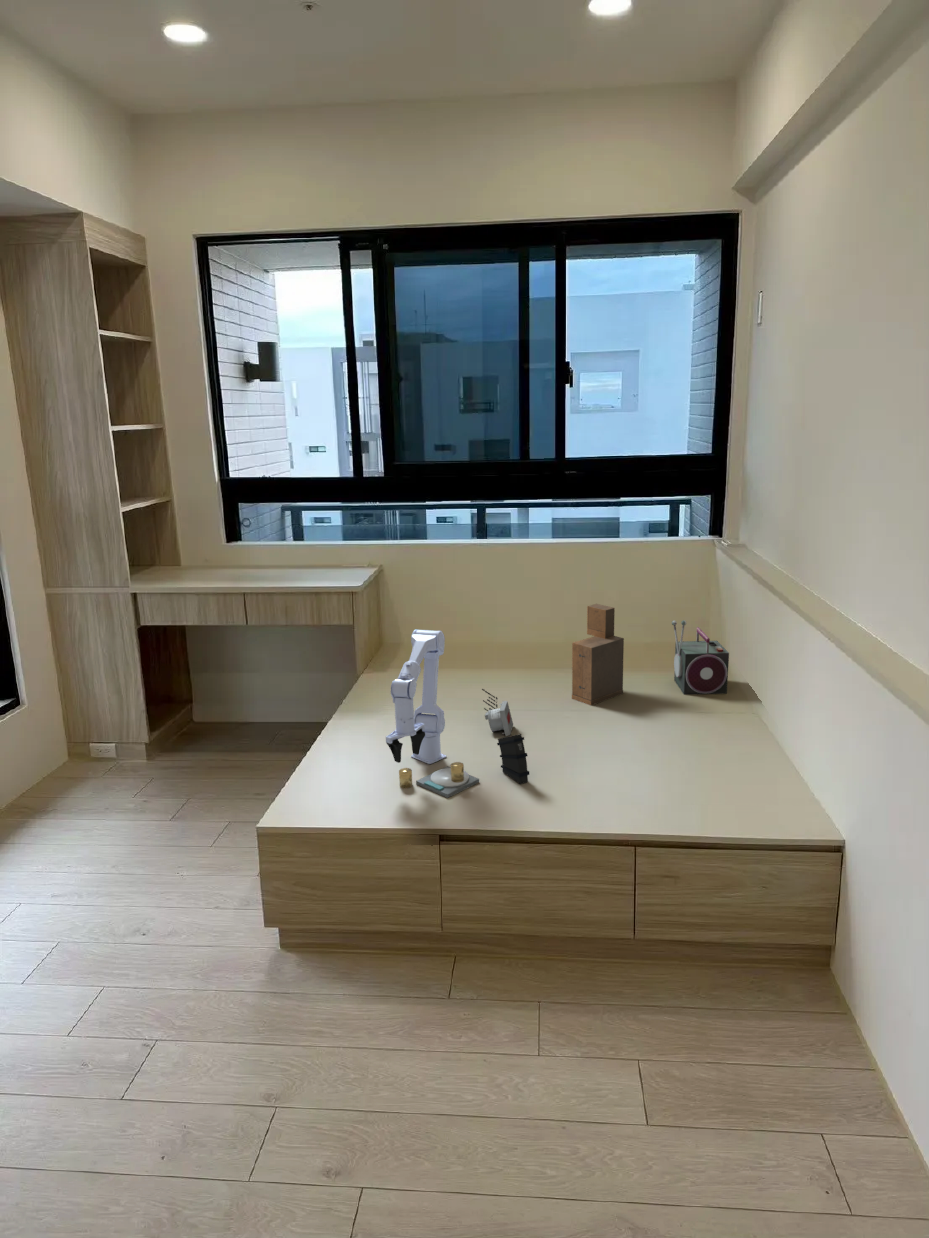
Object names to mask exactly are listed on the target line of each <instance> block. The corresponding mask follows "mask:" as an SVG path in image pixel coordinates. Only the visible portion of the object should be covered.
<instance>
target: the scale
mask: <svg viewBox="0 0 929 1238" xmlns="http://www.w3.org/2000/svg"><path fill="white" fill-rule="evenodd" d="M478 783H480V778H478V777H476V776H473V775H471V774H469V773H468V772H467V771H466V770H464V781H462V782H453V781H451V766H449V765H447V766H444V767H443V768H441V769H438V770H436V771H433V772H432V773H430V774H427V775H426V776H424V777H421V778H419V779H417V780H415V784H416V785H417V786H419V787H422V788H424V789H426V790H428V791H430V792H433V793H436V794H438V795H439V796H442V797H445V798H446V799H448V798H450V797H453V796H454V795H456V794H459V793H460V792H463V791H464V790H466V789H468V788H471V787H472V786H474V785H477V784H478Z"/></svg>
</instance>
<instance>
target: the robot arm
mask: <svg viewBox="0 0 929 1238" xmlns="http://www.w3.org/2000/svg"><path fill="white" fill-rule="evenodd" d="M410 636H411V637H410V641H411V647H412V649H411V654H410V655H409V658H408V661H405V662H404V663H403V665H402V668H401V670H400V672H399V675H398V676H397V678H396V679H394V680H392V682H391V685H390V695H391V699H392V703H393V704H394V716H395V730H393V731H392V732H391V733H390V734H388V735H386V736H385V743H386V745H387V746H388V747H389V750H390V752H391V753H392V756H393V759H394V762H396V763H398V764H399V763H401V762H402V750H403V749H402V747H403V743H402V742H400V741H399V740H400V739H403V738H405V737H410V741H411V750H412V754H411V755H410V756H411V758H413V759H416V760H419V761H420V762H422V763H425V764H428V765H432V764H434V763H436V762H438V761H440V760H443V759H445V758H447V755H446V754H443V753H442V749H441V734H442V733H443V732H444V730H445V727H446V719H445V711H444V710H443V709H442V708H441V707H440V706H439V705H438V704H437V698H438V696H437V695H438V679H439V678H438V677H439V664H440V663H439V661H440V656H442V655H444V652H445V641H446V638H445V635H444V632H443V631H442V630H432V629H431V630H430V629H418V628H417V629H414V630H413V631H412V633H411V635H410ZM423 660H424V661H423ZM422 662H423V677H422V678H423V680H422V694H421V695H422V696H421V705H419V706H418V707H416V709H414V708H415V707H414V706H415V705H414V697H415V695H416V689H417V681H418V678H419V676H420V674H421V671H422V668H421V664H422Z"/></svg>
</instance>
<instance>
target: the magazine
mask: <svg viewBox="0 0 929 1238" xmlns="http://www.w3.org/2000/svg"><path fill="white" fill-rule="evenodd" d="M524 740H525V737H524V736H522V734H521V733H518V734H515V735H514V734H513V735H508V736H504V737H501V738H497V741H498V742H497V743H496V744H497V746H499V750H500V755H499V757H500V758H501V763H502V764H501V765H500V768H502V773H504V774H505V775H507V776H508V777H509V778H511V779H512V780H514V781H515V782H517V783H518V784H519V785H523V784H524V783H525V784H526V783H528V781H529V777H528V776H529V775H530V771H529V770H528V762H527V757H528V753H527V752H526V749H525V745H524Z"/></svg>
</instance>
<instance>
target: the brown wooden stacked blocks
mask: <svg viewBox="0 0 929 1238" xmlns="http://www.w3.org/2000/svg"><path fill="white" fill-rule="evenodd" d="M586 608H587V611H586V612H587V613H586V616H587V617H586V618H587V619H586V629H587V630H586V634H587V635H588V636H591V637H588V638H584V639H581V640H577V641H574V642H572V643H571V644H572V646H571V647H572V649H571V650H572V656H571V657H572V659H571V661H572V664H571V665H572V667H571V670H572V672H571V675H572V676H571V677H572V678H571V681H572V682H571V684H572V685H571V690H572V691H571V692H572V693H571V700H575V701H577V702H580V703H583V704H586V705H588V706H593V705H596V704H598V703H601V702H604V701H607V700H610V699H612V698H614V697H618V696H619V695H620V696H621V695H623V694H624V651H625V650H624V649H625V648H624V645H625V642H624V640H625V639H624V637H621V636H616V635H615V607H613V606H608V605H604V604H599V603H595V604H590V605H587V607H586Z"/></svg>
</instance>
